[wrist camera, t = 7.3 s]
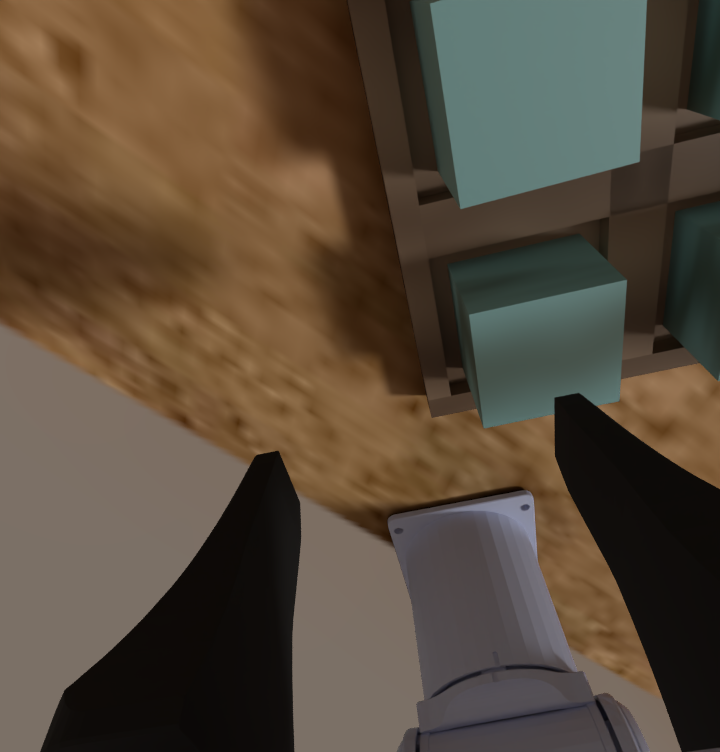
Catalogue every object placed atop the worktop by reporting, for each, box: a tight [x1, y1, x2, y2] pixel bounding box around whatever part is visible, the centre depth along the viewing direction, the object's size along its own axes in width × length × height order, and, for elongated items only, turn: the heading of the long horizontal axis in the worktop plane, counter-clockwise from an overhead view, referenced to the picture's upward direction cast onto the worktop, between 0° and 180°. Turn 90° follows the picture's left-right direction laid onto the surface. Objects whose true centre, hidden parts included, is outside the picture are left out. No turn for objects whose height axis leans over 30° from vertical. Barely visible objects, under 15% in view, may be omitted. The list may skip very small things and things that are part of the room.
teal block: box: [410, 0, 647, 209], centre depth 15 cm, size 5×5×4 cm
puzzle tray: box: [347, 0, 720, 428], centre depth 18 cm, size 17×17×5 cm
